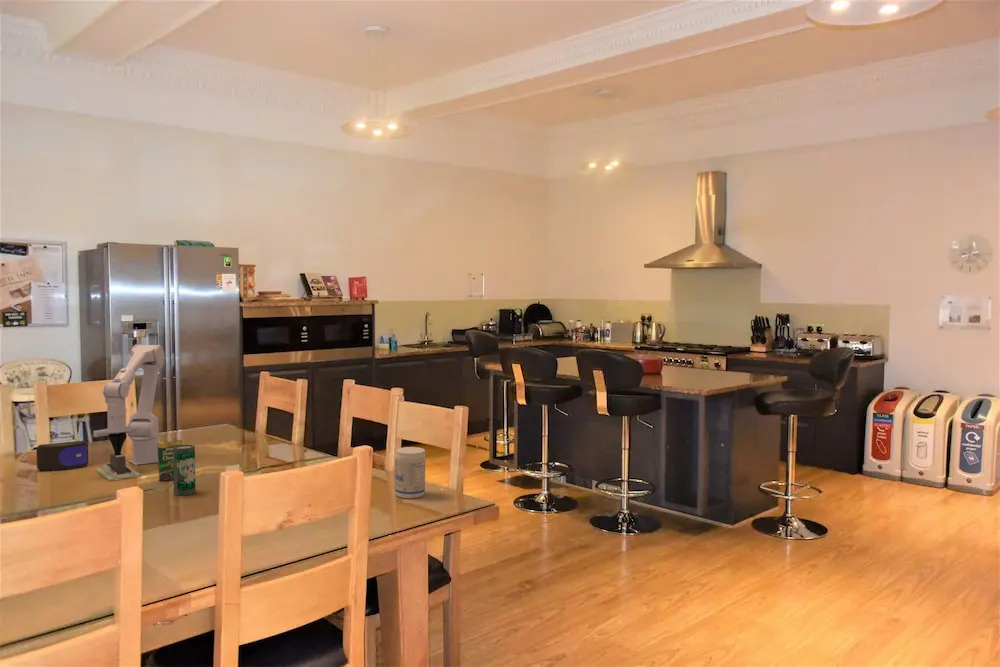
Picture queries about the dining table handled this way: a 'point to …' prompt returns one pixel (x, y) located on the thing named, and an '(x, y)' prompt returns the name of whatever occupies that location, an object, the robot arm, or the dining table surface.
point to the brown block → (118, 463)
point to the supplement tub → (410, 472)
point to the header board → (112, 475)
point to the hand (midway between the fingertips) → (117, 454)
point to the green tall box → (184, 469)
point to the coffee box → (166, 459)
